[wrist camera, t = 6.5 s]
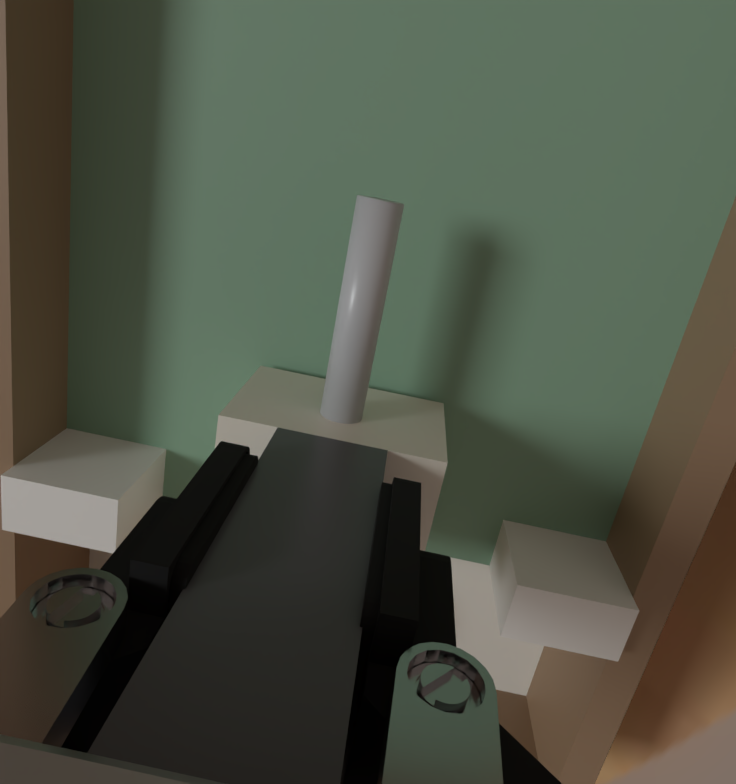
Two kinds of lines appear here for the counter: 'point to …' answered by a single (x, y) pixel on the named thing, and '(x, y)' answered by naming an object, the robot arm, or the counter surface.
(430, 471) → the striker
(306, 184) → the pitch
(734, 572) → the counter surface
